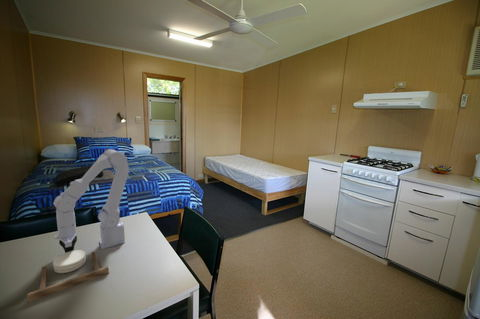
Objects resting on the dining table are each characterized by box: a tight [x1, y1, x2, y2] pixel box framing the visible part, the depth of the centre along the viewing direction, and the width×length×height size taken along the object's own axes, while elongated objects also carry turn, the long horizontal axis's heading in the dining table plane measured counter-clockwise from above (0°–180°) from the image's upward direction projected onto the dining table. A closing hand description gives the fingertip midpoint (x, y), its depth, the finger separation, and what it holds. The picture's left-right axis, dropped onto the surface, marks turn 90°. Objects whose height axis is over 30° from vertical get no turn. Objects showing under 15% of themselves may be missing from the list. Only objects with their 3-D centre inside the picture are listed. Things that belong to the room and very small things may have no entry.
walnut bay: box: [26, 251, 110, 303], centre depth 79 cm, size 22×14×2 cm, turn 130°
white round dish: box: [52, 249, 87, 274], centre depth 84 cm, size 10×10×4 cm
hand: (69, 254), depth 89 cm, fingers closed
